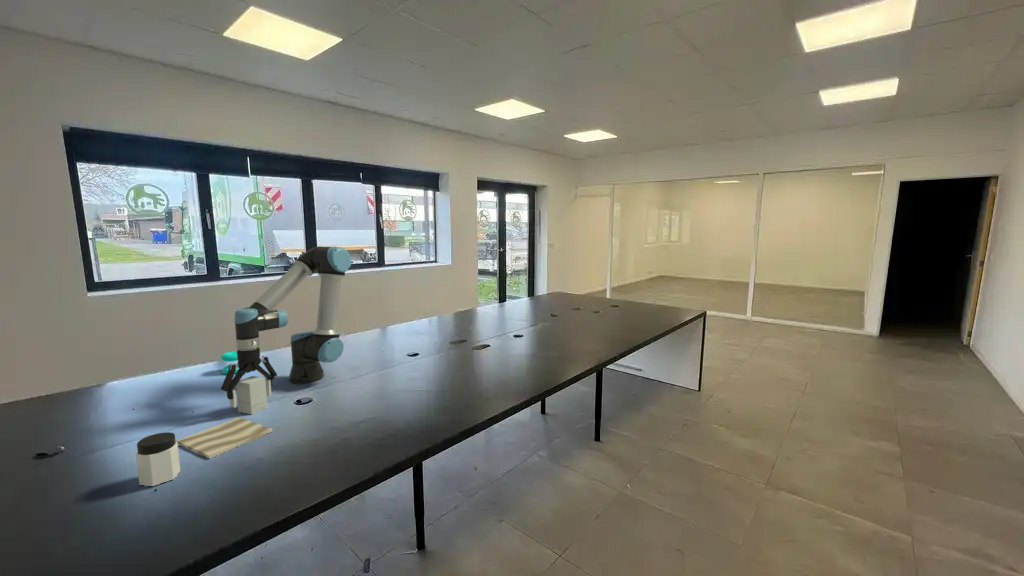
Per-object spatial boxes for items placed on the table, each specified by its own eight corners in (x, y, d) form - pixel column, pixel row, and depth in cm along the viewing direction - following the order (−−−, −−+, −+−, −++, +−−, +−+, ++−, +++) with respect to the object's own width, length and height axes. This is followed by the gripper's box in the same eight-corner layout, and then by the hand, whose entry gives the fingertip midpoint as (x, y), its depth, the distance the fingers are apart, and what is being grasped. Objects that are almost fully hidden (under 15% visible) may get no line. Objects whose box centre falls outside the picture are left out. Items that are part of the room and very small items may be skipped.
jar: (177, 466, 122) (173, 428, 120) (183, 477, 117) (179, 437, 115) (137, 480, 115) (132, 440, 113) (142, 491, 110) (137, 450, 108)
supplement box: (268, 407, 164) (266, 377, 163) (251, 415, 157) (248, 383, 156) (254, 405, 167) (252, 375, 165) (237, 412, 160) (234, 381, 158)
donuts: (233, 356, 200) (215, 355, 202) (235, 375, 202) (217, 374, 203) (249, 350, 210) (232, 349, 211) (250, 369, 211) (233, 368, 213)
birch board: (176, 444, 135) (175, 440, 135) (239, 420, 153) (239, 417, 152) (209, 459, 126) (209, 455, 126) (272, 432, 144) (272, 428, 143)
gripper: (218, 357, 146) (222, 414, 148) (284, 342, 168) (287, 392, 170) (207, 354, 149) (211, 410, 152) (273, 340, 172) (276, 389, 174)
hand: (251, 400), depth 161 cm, fingers open, 13 cm apart
